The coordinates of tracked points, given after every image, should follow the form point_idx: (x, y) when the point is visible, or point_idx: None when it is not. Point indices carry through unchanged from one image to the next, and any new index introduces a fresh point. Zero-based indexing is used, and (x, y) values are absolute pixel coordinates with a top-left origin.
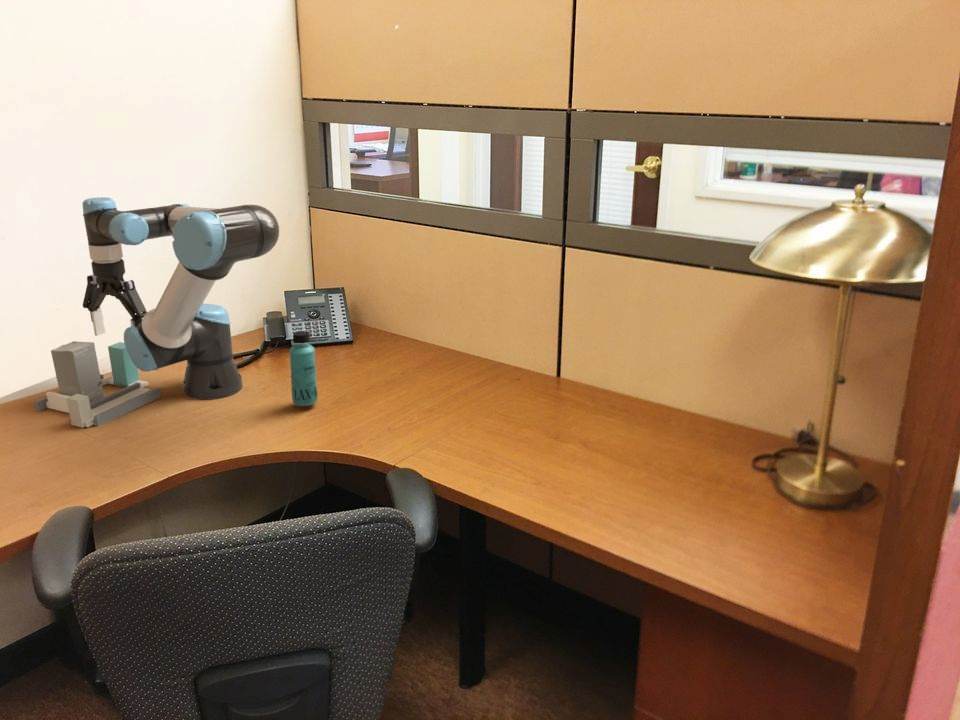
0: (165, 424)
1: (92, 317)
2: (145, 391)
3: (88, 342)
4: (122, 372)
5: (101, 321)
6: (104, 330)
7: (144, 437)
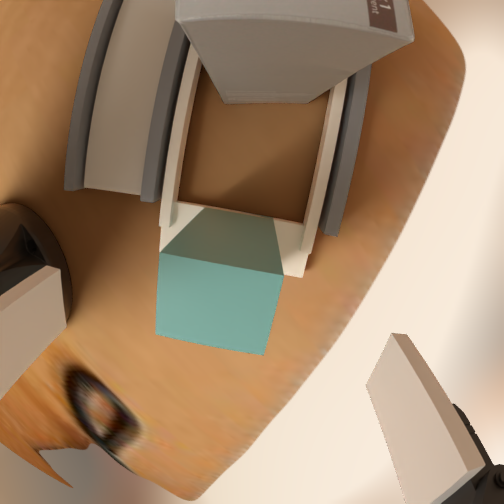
0: (8, 65)
1: (462, 428)
2: (105, 168)
3: (232, 3)
4: (213, 220)
5: (396, 436)
6: (371, 394)
7: (23, 9)
